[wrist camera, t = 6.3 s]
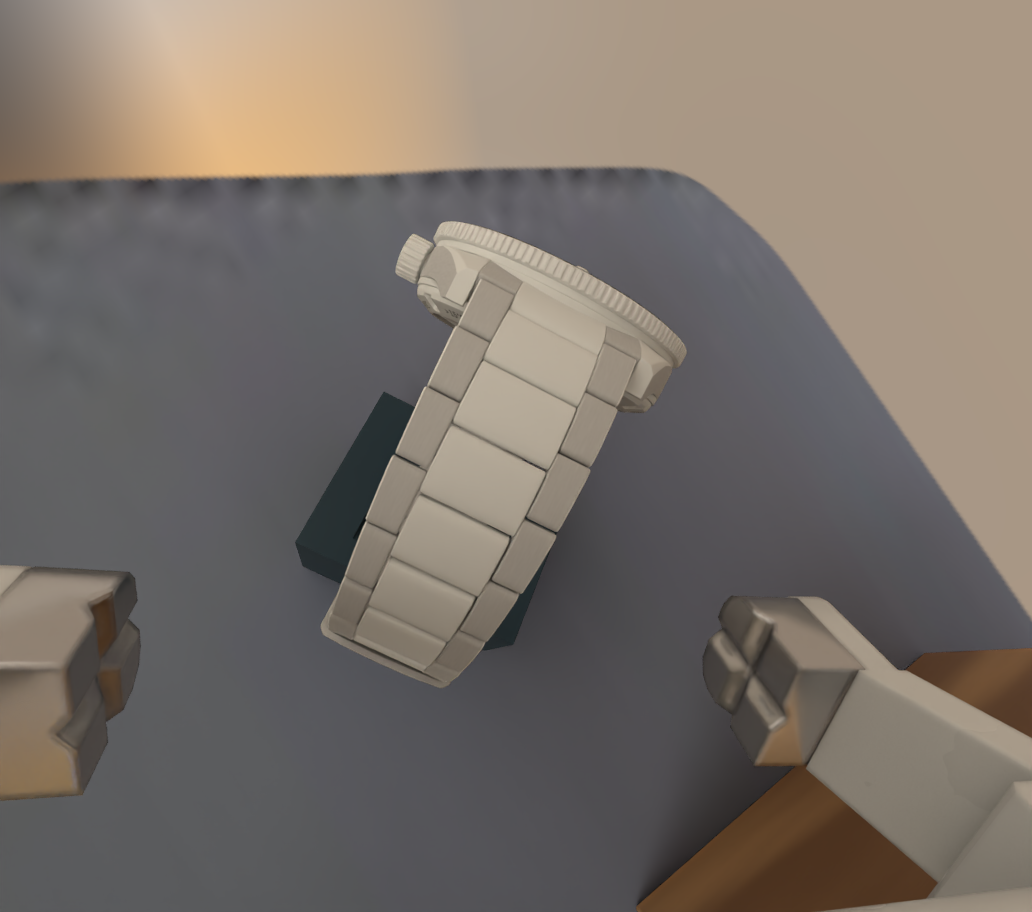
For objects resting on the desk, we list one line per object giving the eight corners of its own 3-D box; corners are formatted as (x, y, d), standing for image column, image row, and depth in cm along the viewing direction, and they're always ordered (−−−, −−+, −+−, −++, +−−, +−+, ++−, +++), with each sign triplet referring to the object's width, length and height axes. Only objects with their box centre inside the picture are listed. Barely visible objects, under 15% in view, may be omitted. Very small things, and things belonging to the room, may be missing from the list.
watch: (561, 463, 20) (788, 239, 10) (458, 714, 16) (644, 765, 6) (403, 383, 19) (472, 61, 9) (264, 625, 16) (136, 531, 6)
